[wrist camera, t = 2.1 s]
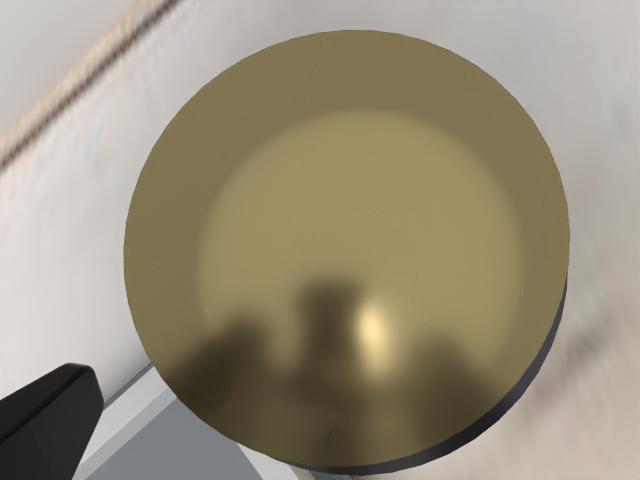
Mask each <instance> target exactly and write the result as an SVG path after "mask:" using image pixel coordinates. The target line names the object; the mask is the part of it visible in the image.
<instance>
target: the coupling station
mask: <svg viewBox="0 0 640 480" xmlns="http://www.w3.org/2000/svg"><path fill="white" fill-rule="evenodd" d="M72 480H352V479H351V477H350V476H349V475H333V474H326V473H321V472H316V471H310V470H305V469H301V468H298V467H295V466H292V465H289V464H286V463H283V462H280V461H277V460H275V459H273V458H271V457H269V456H267V455H265V454H262V453H259V452H256V451H253V450H251V449H249V448H247V447H245V446H243V445H241V444H239V443H237V442H235V441H233V440H231V439H229V438H227V437H225V436H223V435H222V434H220V433H219V432H218V431H216V430H215V429H213V428H212V427H210V426H209V425H208V424H206V423H205V422H203V421H202V420H200V419H199V418H198V417H197V416H196V415H195V414H194V413H193V412H192V411H191V410H190V409H189V408H187V407H186V406H185V405H184V404H183V403H182V402H181V401H180V400H179V399H178V398H177V396H176V395H175V394H174V393H173V392H172V390H171V389H170V388H169V387H168V385H167V384H166V383H165V382H164V381H163V379H162V378H161V377H160V375H159V373H158V372H157V370H156V368H155V367H154V365H153V363H152V362H151V363H150V364H149V365H148V366H147V367H146V368H144V369H143V370H142V371H141V372H140V373H139V374H138V375H137V376H135V377H134V378H133V379H132V380H131V381H130V382H129V383H128V384H126V385H125V386H124V387H123V388H122V389H121V390H120V391H118V392H117V393H116V394H115V395H114V396H113V397H112V398H111V399H109V400H108V401H107V402H106V403H105V404H104V407H103V412H102V415H101V417H100V419H99V422H98V424H97V426H96V428H95V430H94V433H93V435H92V437H91V439H90V441H89V444H88V446H87V448H86V450H85V452H84V455H83V457H82V459H81V461H80V463H79V465H78V468H77V470H76V472H75V474H74V476H73V479H72Z"/></svg>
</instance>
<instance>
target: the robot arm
mask: <svg viewBox="0 0 640 480" xmlns="http://www.w3.org/2000/svg"><path fill="white" fill-rule="evenodd" d="M103 407H104V399H103V396H102V393H101V390H100V387H99V384H98V381H97V378H96V375H95V372H94V370H93V368H91V367H90V366H88V365H83V364H76V363H66V364H64V365H62V366H60V367H58V368H56V369H55V370H53V371H51V372H49V373H47V374H46V375H44V376H42V377H40V378H39V379H37V380H35V381H33V382H32V383H30V384H28V385H26V386H24V387H23V388H21V389H19V390H17V391H16V392H14V393H12V394H10V395H8V396H7V397H5V398H3V399H1V400H0V480H72V479H73V476H74V474H75V472H76V470H77V468H78V465H79V463H80V461H81V459H82V457H83V455H84V452H85V450H86V448H87V446H88V444H89V441H90V439H91V437H92V435H93V433H94V430H95V428H96V426H97V424H98V422H99V419H100V417H101V415H102V412H103Z"/></svg>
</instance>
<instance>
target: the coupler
mask: <svg viewBox="0 0 640 480" xmlns="http://www.w3.org/2000/svg"><path fill="white" fill-rule="evenodd" d="M569 242H570V230H569V220H568V210H567V202H566V198H565V194H564V190H563V186H562V182H561V178H560V174H559V171H558V169H557V167H556V164H555V162H554V159H553V157H552V154H551V152H550V149H549V147H548V145H547V144H546V142H545V140H544V138H543V137H542V135H541V133H540V132H539V130H538V128H537V126H536V125H535V123H534V121H533V120H532V119H531V118H530V116H529V115H528V114H527V113H526V111H525V110H524V109H523V107H522V106H521V105H520V104H519V102H518V101H517V100H516V99H515V98H514V97H513V96H512V95H511V94H510V93H509V92H508V91H507V90H506V89H505V88H504V87H503V86H502V85H501V84H500V83H499V82H497V81H496V80H495V79H494V78H492V77H491V76H490V75H488V74H487V73H486V72H484V71H483V70H482V69H480V68H479V67H477V66H476V65H475V64H473V63H471V62H470V61H468V60H466V59H464V58H462V57H460V56H459V55H457V54H455V53H453V52H451V51H449V50H447V49H444V48H442V47H439V46H437V45H434V44H432V43H429V42H427V41H424V40H420V39H416V38H412V37H408V36H404V35H401V34H395V33H387V32H380V31H372V30H342V31H332V32H323V33H316V34H312V35H307V36H303V37H298V38H294V39H291V40H288V41H285V42H282V43H279V44H276V45H273V46H270V47H268V48H265V49H263V50H261V51H259V52H257V53H255V54H253V55H251V56H249V57H246V58H244V59H243V60H241V61H240V62H238V63H236V64H235V65H233V66H231V67H230V68H228V69H227V70H225V71H223V72H222V73H221V74H219V75H218V76H217V77H215V78H214V79H213V80H212V81H210V82H209V83H208V84H206V85H205V86H204V87H203V88H201V89H200V90H199V91H198V92H197V93H196V94H195V95H194V96H193V97H192V98H191V99H190V100H189V101H188V102H187V103H186V104H185V105H184V106H183V107H182V108H181V110H180V111H179V112H178V113H177V115H176V116H175V117H174V118H173V119H172V121H171V122H170V123H169V124H168V126H167V127H166V128H165V130H164V131H163V133H162V135H161V136H160V138H159V139H158V141H157V142H156V144H155V145H154V147H153V149H152V151H151V153H150V155H149V157H148V159H147V161H146V163H145V165H144V167H143V169H142V171H141V173H140V176H139V179H138V182H137V184H136V187H135V190H134V193H133V196H132V199H131V204H130V208H129V213H128V217H127V221H126V230H125V240H124V278H125V285H126V291H127V298H128V304H129V307H130V311H131V314H132V318H133V321H134V325H135V328H136V330H137V333H138V335H139V337H140V340H141V342H142V344H143V347H144V349H145V351H146V353H147V355H148V357H149V358H150V360H151V362H152V363H153V365H154V367H155V368H156V370H157V372H158V373H159V375H160V377H161V378H162V379H163V381H164V382H165V383H166V384H167V385H168V387H169V388H170V389H171V390H172V392H173V393H174V394H175V395H176V396H177V398H178V399H179V400H180V401H181V402H182V403H183V404H184V405H185V406H186V407H187V408H189V409H190V410H191V411H192V412H193V413H194V414H195V415H196V416H197V417H198V418H199V419H200V420H202V421H203V422H205V423H206V424H208V425H209V426H210V427H212V428H213V429H215V430H216V431H218V432H219V433H220V434H222V435H223V436H225V437H227V438H229V439H231V440H233V441H235V442H237V443H239V444H241V445H243V446H245V447H247V448H249V449H251V450H253V451H256V452H259V453H262V454H265V455H267V456H269V457H271V458H273V459H275V460H277V461H280V462H283V463H286V464H289V465H292V466H295V467H298V468H301V469H305V470H310V471H316V472H321V473H326V474H333V475H357V476H363V475H373V474H383V473H392V472H396V471H400V470H404V469H408V468H412V467H416V466H420V465H423V464H425V463H428V462H430V461H433V460H435V459H438V458H440V457H443V456H445V455H448V454H450V453H451V452H453V451H455V450H457V449H458V448H460V447H462V446H464V445H465V444H467V443H469V442H470V441H472V440H474V439H475V438H477V437H478V436H479V435H481V434H482V433H483V432H484V431H486V430H487V429H488V428H489V427H491V426H492V425H493V424H495V423H496V422H497V421H498V420H500V418H501V417H502V416H503V415H504V414H505V413H506V412H507V411H508V410H509V409H510V408H511V407H512V406H513V405H514V404H515V403H516V402H517V401H518V400H519V399H520V397H521V396H522V395H523V393H524V392H525V390H526V389H527V388H528V386H529V385H530V383H531V382H532V381H533V379H534V378H535V376H536V375H537V374H538V372H539V370H540V368H541V366H542V364H543V362H544V360H545V358H546V356H547V354H548V352H549V350H550V348H551V346H552V344H553V341H554V338H555V335H556V332H557V329H558V326H559V323H560V320H561V317H562V312H563V307H564V301H565V296H566V291H567V273H568V265H569Z"/></svg>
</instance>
